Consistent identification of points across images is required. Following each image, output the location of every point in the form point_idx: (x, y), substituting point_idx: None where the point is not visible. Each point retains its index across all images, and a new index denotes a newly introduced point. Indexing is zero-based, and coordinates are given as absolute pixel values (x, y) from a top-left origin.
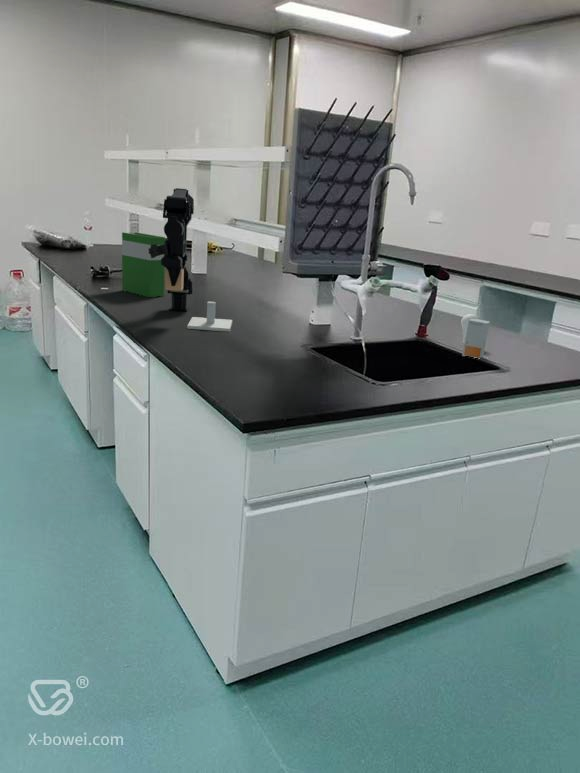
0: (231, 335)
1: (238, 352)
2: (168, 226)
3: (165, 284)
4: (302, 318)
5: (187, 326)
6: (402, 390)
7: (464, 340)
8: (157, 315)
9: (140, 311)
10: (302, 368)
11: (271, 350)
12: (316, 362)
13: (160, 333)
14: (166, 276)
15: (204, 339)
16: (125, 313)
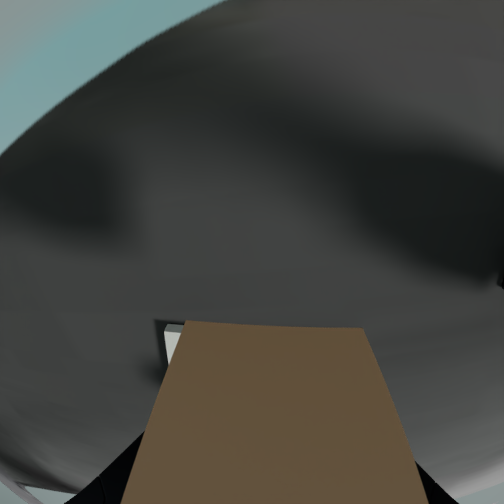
0: (139, 433)
1: (12, 408)
2: None
3: (172, 358)
4: None
5: (165, 329)
6: (17, 489)
7: None
8: (425, 161)
9: (482, 78)
10: (9, 454)
11: (63, 459)
12: (46, 479)
13: (48, 226)
14: (146, 449)
15: (54, 366)
16: (418, 4)
